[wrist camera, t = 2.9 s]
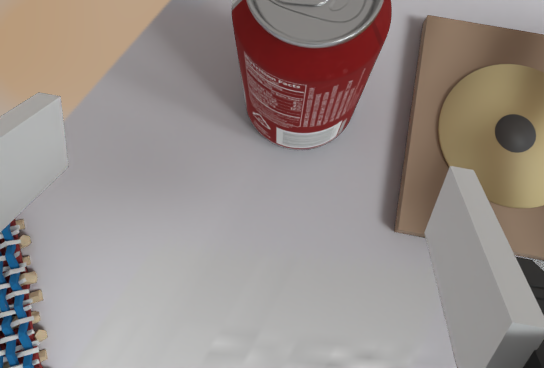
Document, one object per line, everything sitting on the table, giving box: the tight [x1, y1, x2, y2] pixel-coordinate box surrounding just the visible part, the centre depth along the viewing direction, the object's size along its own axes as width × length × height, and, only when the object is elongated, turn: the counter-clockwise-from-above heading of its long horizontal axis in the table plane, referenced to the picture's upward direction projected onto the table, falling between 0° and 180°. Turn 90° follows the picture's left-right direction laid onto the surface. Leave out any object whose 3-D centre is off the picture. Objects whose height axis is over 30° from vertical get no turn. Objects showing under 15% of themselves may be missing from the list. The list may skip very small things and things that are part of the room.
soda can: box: [232, 0, 391, 150], centre depth 24 cm, size 7×7×12 cm
